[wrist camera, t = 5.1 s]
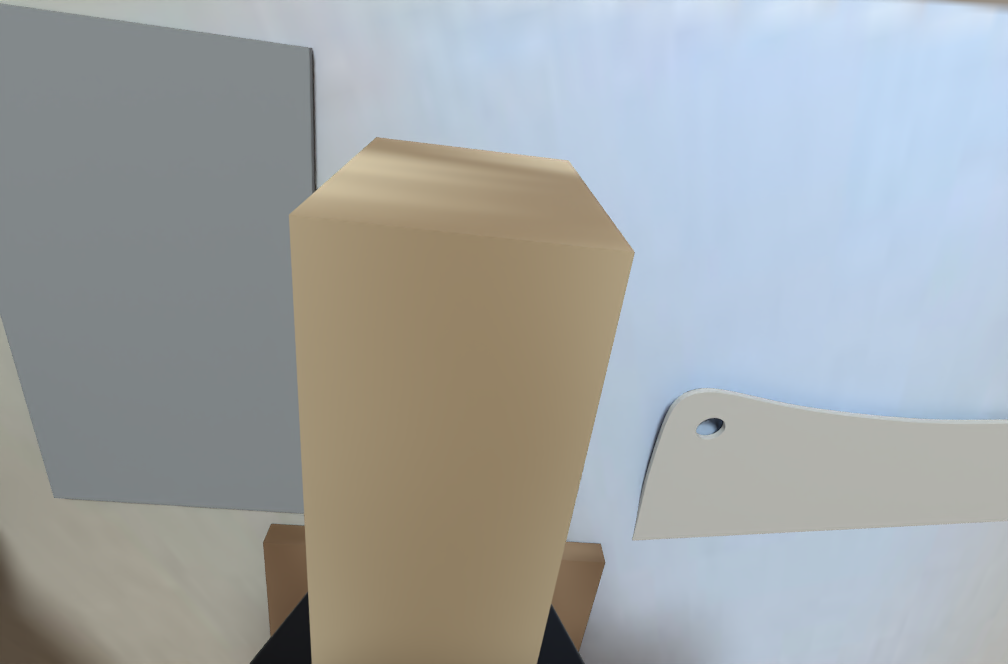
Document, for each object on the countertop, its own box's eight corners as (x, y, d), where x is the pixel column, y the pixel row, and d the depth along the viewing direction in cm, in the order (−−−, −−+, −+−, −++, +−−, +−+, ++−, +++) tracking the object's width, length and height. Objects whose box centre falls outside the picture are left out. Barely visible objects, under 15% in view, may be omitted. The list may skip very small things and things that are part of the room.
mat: (59, 492, 22) (53, 497, 22) (-85, -9, 15) (-96, -10, 14) (320, 509, 23) (318, 514, 23) (311, 48, 16) (308, 48, 15)
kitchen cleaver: (629, 577, 25) (671, 406, 20) (620, 544, 26) (657, 376, 21) (1281, 556, 27) (1490, 392, 21) (1240, 525, 28) (1426, 365, 23)
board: (285, 720, 30) (279, 741, 29) (271, 523, 23) (262, 543, 22) (547, 727, 31) (550, 747, 30) (600, 543, 25) (605, 562, 24)
